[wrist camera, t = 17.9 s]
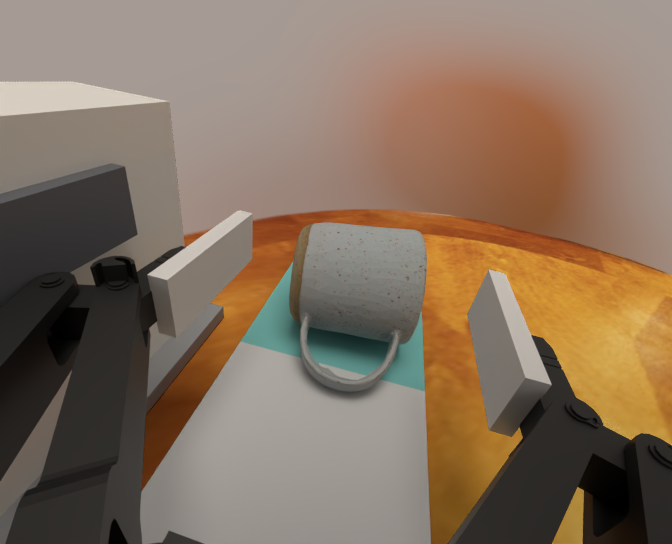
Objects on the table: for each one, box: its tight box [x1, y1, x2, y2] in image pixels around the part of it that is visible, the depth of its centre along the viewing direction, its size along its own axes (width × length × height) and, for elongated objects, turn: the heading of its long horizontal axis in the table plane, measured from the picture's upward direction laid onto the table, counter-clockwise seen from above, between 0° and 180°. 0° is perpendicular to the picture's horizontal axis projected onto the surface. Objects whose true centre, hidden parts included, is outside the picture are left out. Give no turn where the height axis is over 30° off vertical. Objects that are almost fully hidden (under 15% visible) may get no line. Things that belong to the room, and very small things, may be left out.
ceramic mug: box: [289, 223, 427, 392], centre depth 21 cm, size 11×8×8 cm
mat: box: [140, 263, 431, 544], centre depth 21 cm, size 12×24×1 cm, turn 168°
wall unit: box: [0, 82, 224, 544], centre depth 13 cm, size 8×17×14 cm, turn 168°
